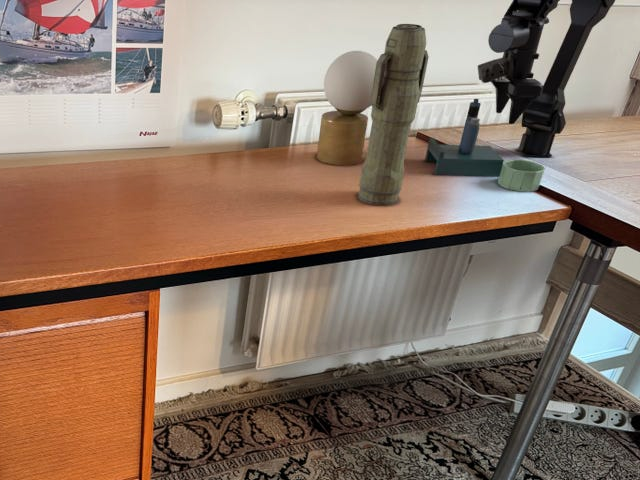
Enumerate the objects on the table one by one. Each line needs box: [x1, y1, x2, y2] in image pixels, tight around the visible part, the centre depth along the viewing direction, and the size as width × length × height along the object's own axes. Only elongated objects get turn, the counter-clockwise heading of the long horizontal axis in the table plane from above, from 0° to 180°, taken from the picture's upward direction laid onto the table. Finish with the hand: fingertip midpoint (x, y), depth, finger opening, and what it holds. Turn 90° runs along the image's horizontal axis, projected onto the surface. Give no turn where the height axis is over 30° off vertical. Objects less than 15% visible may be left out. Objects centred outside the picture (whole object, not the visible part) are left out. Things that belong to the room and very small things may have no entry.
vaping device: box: [459, 98, 481, 155], centre depth 165 cm, size 3×5×12 cm, turn 174°
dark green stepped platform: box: [424, 138, 505, 177], centre depth 169 cm, size 15×11×6 cm
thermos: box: [357, 23, 430, 206], centre depth 145 cm, size 9×12×35 cm
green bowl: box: [497, 159, 546, 193], centre depth 160 cm, size 9×9×4 cm
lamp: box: [316, 50, 378, 166], centre depth 172 cm, size 15×14×25 cm
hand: (504, 118), depth 164 cm, fingers open, 9 cm apart
